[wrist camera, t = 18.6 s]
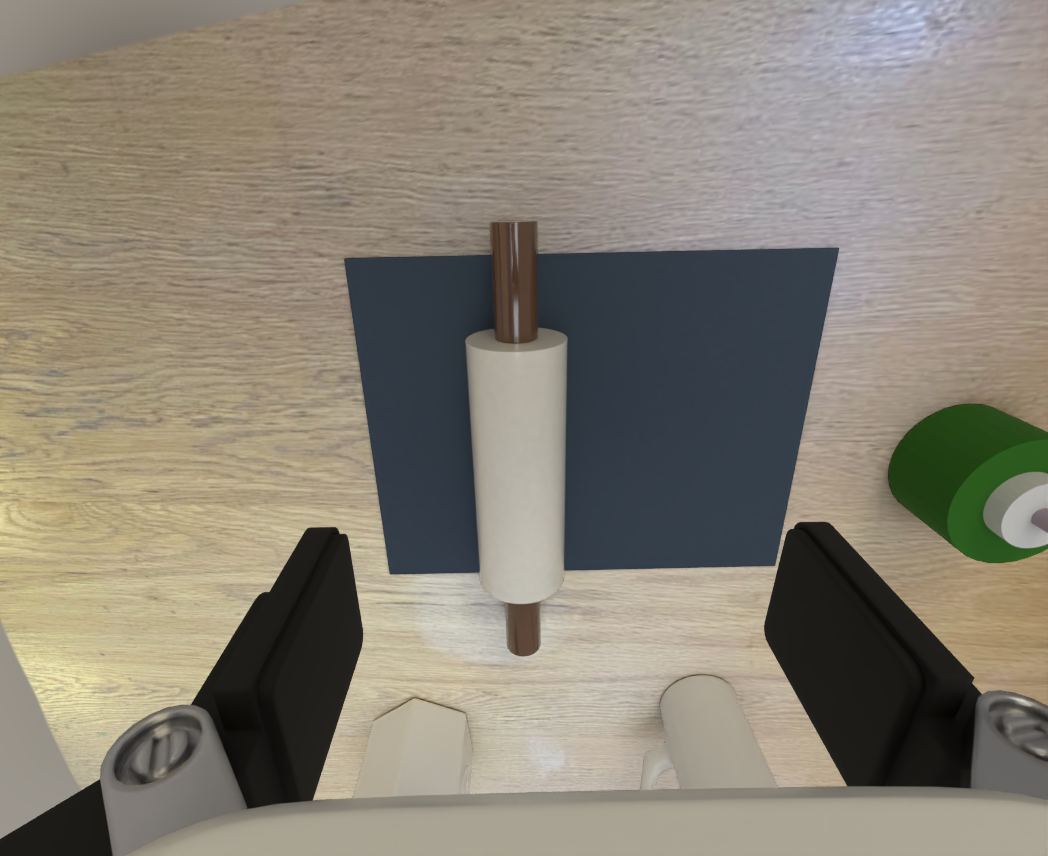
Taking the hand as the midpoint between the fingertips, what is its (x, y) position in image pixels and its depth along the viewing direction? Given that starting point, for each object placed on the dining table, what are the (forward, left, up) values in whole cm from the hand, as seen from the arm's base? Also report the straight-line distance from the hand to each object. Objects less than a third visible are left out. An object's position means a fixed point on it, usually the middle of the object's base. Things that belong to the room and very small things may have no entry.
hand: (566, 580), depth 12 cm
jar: (+20, -30, -23) cm, 43 cm away
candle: (+25, +15, -23) cm, 37 cm away
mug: (+32, -12, -23) cm, 41 cm away
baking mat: (+7, -2, -23) cm, 24 cm away
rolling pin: (+4, -8, -21) cm, 23 cm away
